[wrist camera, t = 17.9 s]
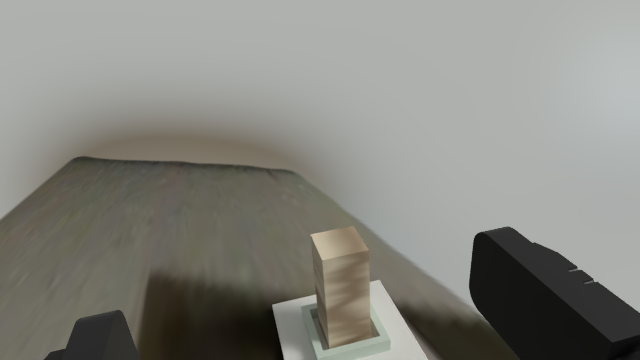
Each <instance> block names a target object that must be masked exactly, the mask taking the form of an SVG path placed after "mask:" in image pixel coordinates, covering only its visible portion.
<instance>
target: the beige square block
mask: <svg viewBox="0 0 640 360" xmlns="http://www.w3.org/2000/svg"><path fill="white" fill-rule="evenodd" d="M311 245H312V256H313V266H314V277H315V287H316V298H317V308H318V319H319V325H320V327H321V330H322V333H323V336H324V338H325V341H326V344H327V347H328V349H332V348H336V347H339V346H343V345H347V344H351V343H355V342H359V341H363V340H366V339H370V338H371V317H370V275H369V249H368V248H367V246H366V245H365V243H364V242H363V240H362V239H361V237H360V236H359V234H358V233H357V231H356V230H355V228H354V227H353V226H350V227H346V228H341V229H336V230H331V231H326V232H321V233H316V234H311Z"/></svg>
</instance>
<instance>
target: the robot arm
mask: <svg viewBox="0 0 640 360" xmlns="http://www.w3.org/2000/svg"><path fill="white" fill-rule="evenodd" d="M469 289H470V294H471V297H472V300H473V302H474V304H475V306H476V308H477V309H478V311H479V312H480V313H481V314H482V315H483V316H484V318H485V319H486V320H487V321H488V322H489V323H490V325H491V326H492V327H493V328H494V329H495V330H496V332H497V333H498V334H499V335H500V336H501V337H502V338H503V340H504V341H505V342H506V343H507V344H508V345H509V347H510V348H511V349H512V350H513V351H514V352H515V354H516V355H517V356H518V357H519V358H520V359H521V360H640V313H639V312H638V311H636V310H635V309H633V308H632V307H631V306H629V305H628V304H626V303H625V302H624V301H623V300H621V299H620V298H619V297H617V296H616V295H614V294H613V293H612V292H610V291H609V290H608V289H607V288H605V287H604V286H603V285H601V284H600V283H598V282H594V280H593V278H591V277H590V276H589V275H588V274H586V273H585V272H583V271H582V270H578V268H577V266H575V265H574V264H573V263H571V262H570V261H569V260H567V259H566V258H565V257H563V256H562V255H561V254H559V253H558V252H555V251H553V250H551V249H548V248H546V247H544V246H542V245H539V244H537V243H532V242H530V241H529V240H528V239H526V238H525V237H524V236H522V235H521V234H520V233H518V232H517V231H516V230H515V229H513V228H511V227H503V228H498V229H494V230H489V231H485V232H480V233H478V234H477V235H476V236H475V238H474V243H473V251H472V261H471V271H470V280H469ZM44 360H140V358H139V356H138V353H137V350H136V347H135V344H134V342H133V339H132V336H131V333H130V330H129V328H128V325H127V322H126V319H125V317H124V315H123V313H122V312H121V311H120V310H116V311H112V312H107V313H102V314H98V315H93V316H89V317H84V318H80V319H78V320H77V321H76V323H75V325H74V328H73V330H72V333H71V336H70V338H69V341H68V344H67V346H66V349H62V350H58V351H54V352H50V353H49V354H48V356H47V357H46V358H45V359H44Z"/></svg>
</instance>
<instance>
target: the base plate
mask: <svg viewBox="0 0 640 360" xmlns="http://www.w3.org/2000/svg"><path fill="white" fill-rule="evenodd" d="M272 307H273V313H274V317H275V322H276V326H277V331H278V335H279V340H280V344H281V349H282V353H283V357H284V360H428V359H427V357H426V355H425V354H424V352H423V351H422V349H421V347H420V346H419V344H418V342H417V341H416V339H415V337H414V336H413V334H412V333H411V331H410V329H409V328H408V326H407V324H406V323H405V321H404V319H403V318H402V316H401V315H400V313H399V311H398V310H397V308H396V306H395V305H394V303H393V301H392V300H391V298H390V297H389V295H388V293H387V292H386V290H385V288H384V287H383V285H382V283H381V282H380V280H377V281H373V282H370V317H371V338H370V339H366V340H363V341H359V342H355V343H351V344H347V345H343V346H339V347H336V348H332V349H328V347H327V344H326V341H325V338H324V336H323V333H322V330H321V327H320V325H319V319H318V308H317V298H316V295H312V296H308V297H304V298H299V299H295V300H291V301H286V302H282V303H278V304H273V305H272Z"/></svg>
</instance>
